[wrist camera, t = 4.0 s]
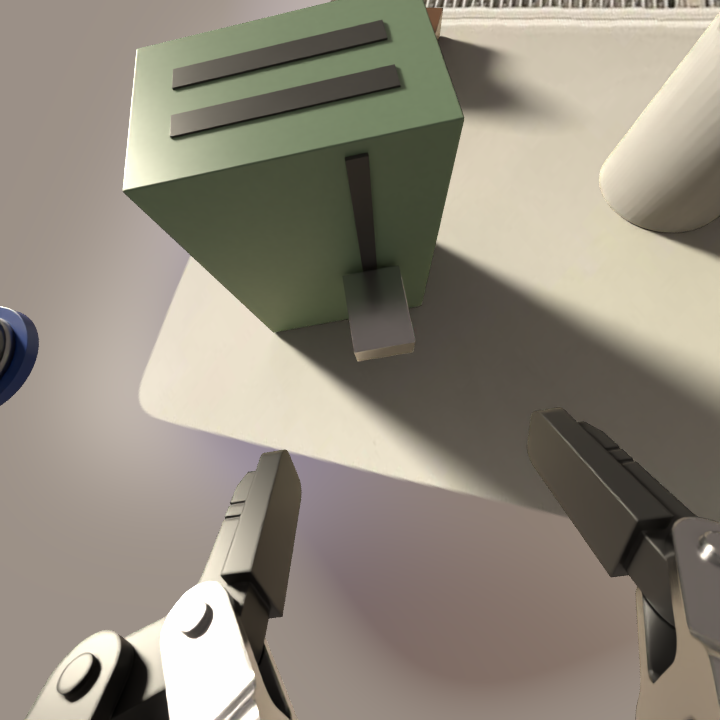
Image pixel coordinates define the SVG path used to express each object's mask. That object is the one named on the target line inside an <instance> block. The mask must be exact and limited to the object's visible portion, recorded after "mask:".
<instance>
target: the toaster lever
mask: <svg viewBox="0 0 720 720" xmlns="http://www.w3.org/2000/svg"><path fill="white" fill-rule="evenodd" d="M342 278H343V285H344V291H345V298H346V304H347V311H348V317H349V324H350V330H351V337H352V344H353V350H354V354H355V356H356V359H357V361H358V362H360V361H365V360H371V359H377V358H383V357H388V356H394V355H400V354H406V353H411V352H413V350H414V346H415V342H416V341H415V336H414V331H413V327H412V322H411V318H410V313H409V308H408V304H407V299H406V295H405V290H404V286H403V281H402V276H401V272H400V267H399V265H397V266H391V267H386V268H381V269H376V270H370V271H365V272H360V273H355V274H349V275H344V276H342Z"/></svg>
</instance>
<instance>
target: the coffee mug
mask: <svg viewBox="0 0 720 720" xmlns="http://www.w3.org/2000/svg"><path fill="white" fill-rule="evenodd" d="M599 185H600V189H601V192H602V195H603V197H604V199H605V200H606V202H607V203H608V204H609V206H610V207H611V208H612V209H613V210H614V211H615V212H616V213H617V214H619V215H620V216H621V217H622V218H624V219H626V220H627V221H629V222H631V223H633V224H635V225H637V226H640V227H642V228H646V229H650V230H653V231H659V232H686V231H690V230H695V229H698V228H700V227H703V226H705V225H707V224H708V223H710V222H712V221H713V220H715V219H716V218H718V217H719V216H720V12H719V14H718V15H717V16H716V18H715V19H714V20H713V22H712V23H711V24H710V25H709V27H708V28H707V29H706V31H705V32H704V33H703V35H702V36H701V37H700V38H699V40H698V41H697V42H696V44H695V45H694V46H693V48H692V49H691V50H690V52H689V53H688V54H687V55H686V57H685V58H684V59H683V61H682V62H681V63H680V65H679V66H678V67H677V68H676V70H675V71H674V72H673V74H672V75H671V76H670V78H669V79H668V80H667V81H666V83H665V84H664V85H663V87H662V88H661V89H660V91H659V92H658V93H657V94H656V96H655V97H654V98H653V100H652V101H651V102H650V104H649V105H648V106H647V107H646V109H645V110H644V111H643V113H642V114H641V115H640V117H639V118H638V119H637V121H636V122H635V123H634V124H633V126H632V127H631V128H630V130H629V131H628V132H627V134H626V135H625V136H624V137H623V139H622V140H621V141H620V143H619V144H618V145H617V147H616V148H615V149H614V150H613V152H612V153H611V154H610V156H609V157H608V158H607V160H606V161H605V162H604V164H603V166H602V168H601V171H600V175H599Z"/></svg>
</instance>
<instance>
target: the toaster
mask: <svg viewBox="0 0 720 720" xmlns="http://www.w3.org/2000/svg"><path fill="white" fill-rule="evenodd" d="M463 122H464V115H463V112H462V109H461V107H460V104H459V101H458V98H457V95H456V92H455V89H454V87H453V84H452V81H451V78H450V75H449V72H448V69H447V67H446V64H445V61H444V58H443V55H442V52H441V49H440V47H439V44H438V41H437V38H436V35H435V32H434V29H433V27H432V24H431V21H430V18H429V15H428V12H427V9H426V7H425V4H424V1H423V0H337V1H333V2H328V3H325V4H320V5H316V6H312V7H308V8H304V9H300V10H296V11H291V12H287V13H283V14H280V15H275V16H271V17H267V18H263V19H259V20H255V21H250V22H246V23H242V24H238V25H234V26H230V27H226V28H221V29H218V30H214V31H210V32H205V33H201V34H197V35H193V36H189V37H185V38H180V39H176V40H172V41H168V42H164V43H160V44H156V45H152V46H147V47H143V48H139V49H137V53H136V64H135V73H134V83H133V93H132V103H131V113H130V123H129V133H128V143H127V153H126V163H125V173H124V183H123V192H124V193H125V194H126V195H127V196H128V197H129V198H130V199H131V200H132V201H133V202H134V203H135V204H137V206H138V207H140V208H141V209H142V210H143V211H144V212H145V213H146V214H147V215H148V216H149V217H150V218H151V219H152V220H153V221H155V222H156V223H157V224H158V225H159V226H160V227H161V228H162V229H163V230H164V231H165V232H166V233H168V234H169V235H170V236H171V237H172V238H173V239H174V240H175V241H176V242H177V243H178V244H179V245H180V246H181V247H182V248H183V249H185V250H186V251H187V252H188V253H189V254H190V255H191V256H192V257H193V258H194V259H195V260H196V261H197V262H198V263H200V264H201V265H202V266H203V267H204V268H205V269H206V270H207V271H208V272H209V273H210V274H211V275H212V276H213V277H215V278H216V279H217V280H218V281H219V282H220V283H221V284H222V285H223V286H224V287H225V288H226V289H227V290H228V291H230V292H231V293H232V294H233V295H234V296H235V297H236V298H237V299H238V300H239V301H240V302H241V303H242V304H243V305H245V306H246V307H247V308H248V309H249V310H250V311H251V312H252V313H253V314H254V315H255V316H256V317H257V318H258V319H260V320H261V321H262V322H263V323H264V324H265V325H266V326H267V327H268V328H269V329H270V330H271V331H272V332H279V331H285V330H290V329H296V328H301V327H307V326H312V325H318V324H323V323H329V322H334V321H340V320H345V319H349V317H348V311H347V304H346V298H345V291H344V285H343V278H342V276H344V275H349V274H355V273H360V272H365V271H370V270H376V269H381V268H386V267H391V266H397V265H399V267H400V272H401V276H402V281H403V286H404V290H405V295H406V299H407V304H408V308H411V307H417V306H421V305H422V301H423V297H424V292H425V288H426V283H427V279H428V275H429V270H430V266H431V262H432V257H433V253H434V249H435V244H436V240H437V236H438V231H439V227H440V222H441V218H442V214H443V209H444V205H445V201H446V196H447V192H448V188H449V183H450V179H451V174H452V170H453V166H454V161H455V157H456V153H457V148H458V144H459V140H460V135H461V131H462V127H463Z"/></svg>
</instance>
